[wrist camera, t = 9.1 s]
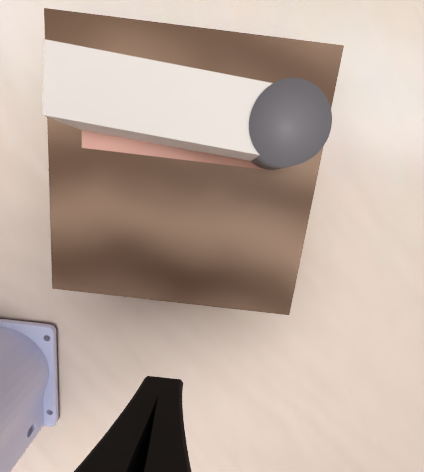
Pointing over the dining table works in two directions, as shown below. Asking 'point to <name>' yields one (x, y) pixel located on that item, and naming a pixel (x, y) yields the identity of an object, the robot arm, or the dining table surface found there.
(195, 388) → the dining table surface
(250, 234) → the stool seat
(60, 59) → the white bar with cylinder
